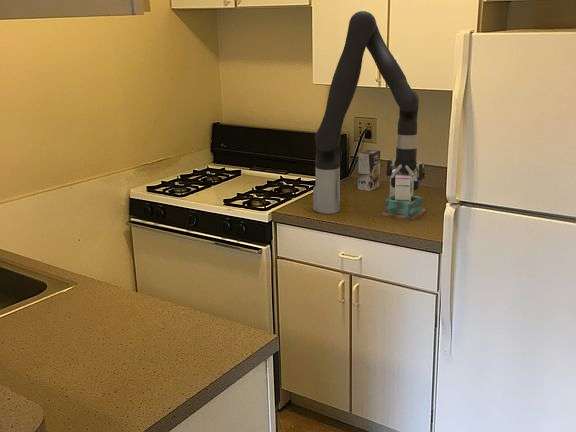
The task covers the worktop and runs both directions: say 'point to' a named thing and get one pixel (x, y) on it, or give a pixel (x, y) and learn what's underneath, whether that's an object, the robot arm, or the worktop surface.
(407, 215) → the socket collar
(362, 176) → the coffee box
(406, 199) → the syrup box
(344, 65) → the robot arm
